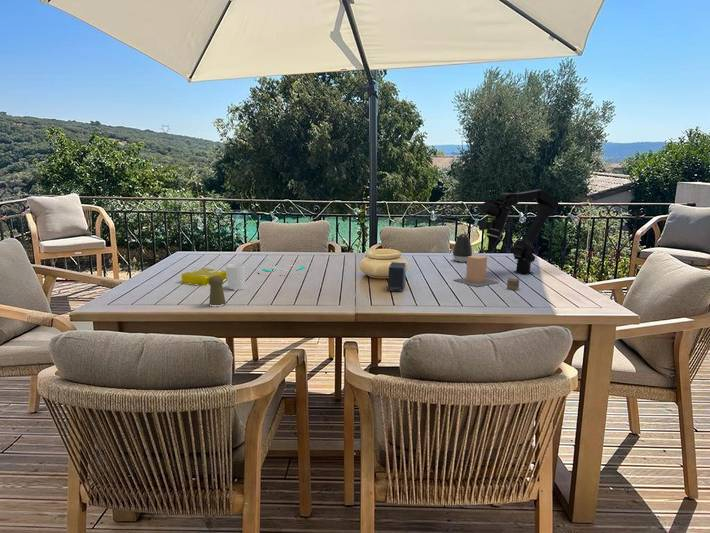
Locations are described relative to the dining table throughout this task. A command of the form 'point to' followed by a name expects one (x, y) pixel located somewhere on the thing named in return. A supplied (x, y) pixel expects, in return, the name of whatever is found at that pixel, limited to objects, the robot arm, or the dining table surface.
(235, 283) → the white cup
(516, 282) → the stub post
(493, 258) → the dining table surface
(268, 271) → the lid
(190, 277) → the element tile
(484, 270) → the tan rectangular block
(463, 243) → the dark grey rounded vessel
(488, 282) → the rubber mat
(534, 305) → the dining table surface
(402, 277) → the small box
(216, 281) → the cork
